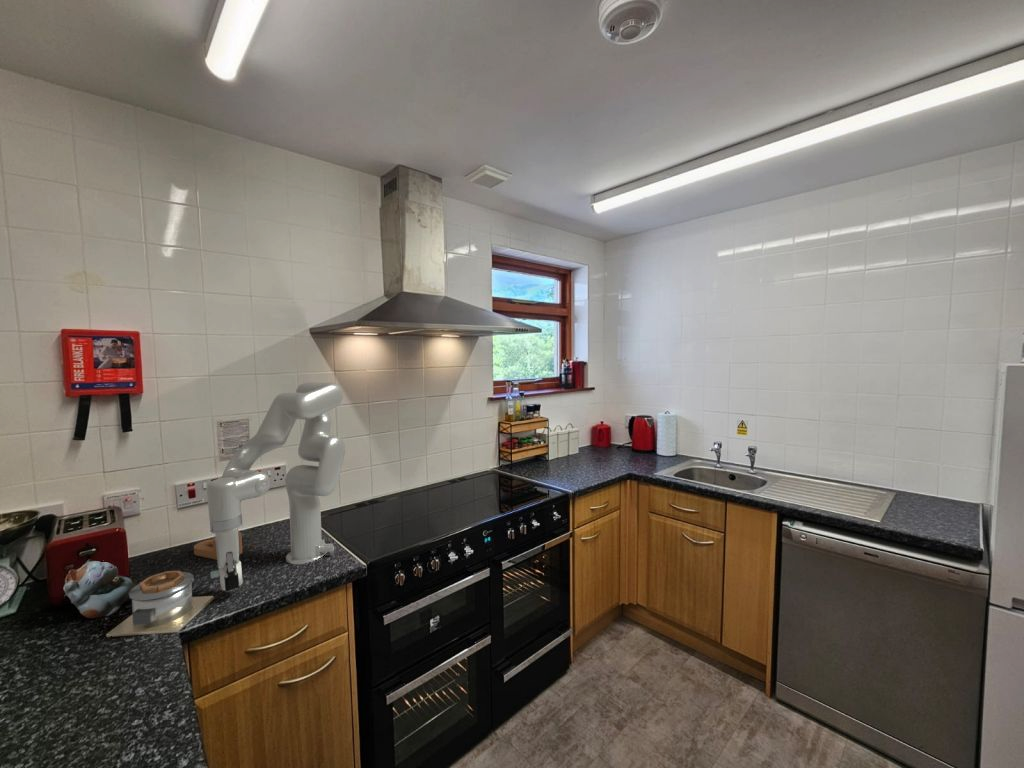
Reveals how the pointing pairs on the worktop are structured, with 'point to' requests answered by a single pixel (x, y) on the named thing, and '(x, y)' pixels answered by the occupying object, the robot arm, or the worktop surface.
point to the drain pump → (222, 574)
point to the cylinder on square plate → (161, 605)
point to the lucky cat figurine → (97, 588)
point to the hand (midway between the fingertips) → (231, 583)
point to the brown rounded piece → (212, 548)
